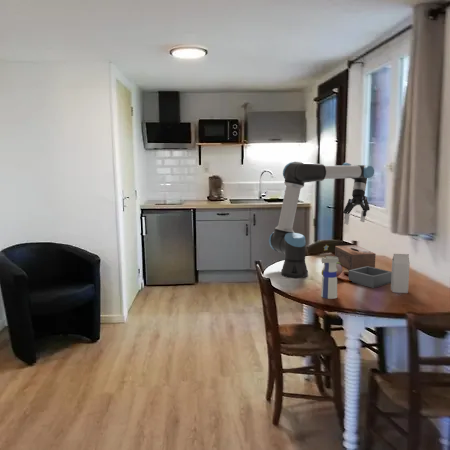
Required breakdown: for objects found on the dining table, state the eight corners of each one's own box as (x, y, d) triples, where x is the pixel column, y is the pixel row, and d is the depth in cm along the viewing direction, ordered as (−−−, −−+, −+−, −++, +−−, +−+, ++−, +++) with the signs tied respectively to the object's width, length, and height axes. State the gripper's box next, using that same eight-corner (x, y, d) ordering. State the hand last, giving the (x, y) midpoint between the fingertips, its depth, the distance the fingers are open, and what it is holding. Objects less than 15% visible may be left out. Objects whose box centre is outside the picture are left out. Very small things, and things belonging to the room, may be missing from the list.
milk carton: (408, 293, 226) (410, 255, 223) (392, 292, 227) (394, 255, 224) (405, 289, 233) (407, 252, 230) (390, 288, 234) (392, 252, 231)
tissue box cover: (374, 270, 273) (375, 253, 271) (351, 271, 271) (352, 254, 269) (355, 260, 298) (356, 245, 296) (334, 261, 296) (335, 246, 294)
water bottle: (316, 296, 222) (317, 245, 218) (326, 292, 228) (327, 243, 224) (331, 300, 216) (332, 248, 212) (340, 296, 222) (342, 245, 218)
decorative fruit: (335, 275, 260) (336, 258, 258) (344, 279, 252) (345, 261, 251) (321, 277, 256) (322, 259, 255) (330, 281, 249) (330, 263, 247)
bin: (373, 287, 235) (373, 276, 234) (348, 281, 248) (348, 270, 247) (392, 282, 244) (392, 271, 244) (367, 276, 257) (367, 266, 256)
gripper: (378, 189, 279) (373, 222, 274) (348, 195, 300) (344, 226, 295) (370, 185, 275) (365, 218, 270) (340, 191, 297) (335, 223, 292)
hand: (354, 222), depth 283 cm, fingers open, 13 cm apart
